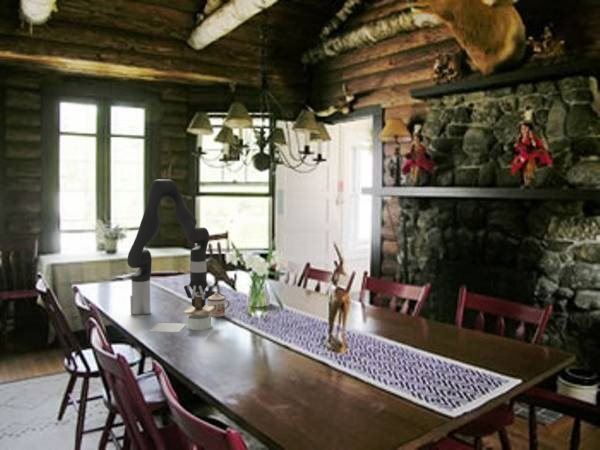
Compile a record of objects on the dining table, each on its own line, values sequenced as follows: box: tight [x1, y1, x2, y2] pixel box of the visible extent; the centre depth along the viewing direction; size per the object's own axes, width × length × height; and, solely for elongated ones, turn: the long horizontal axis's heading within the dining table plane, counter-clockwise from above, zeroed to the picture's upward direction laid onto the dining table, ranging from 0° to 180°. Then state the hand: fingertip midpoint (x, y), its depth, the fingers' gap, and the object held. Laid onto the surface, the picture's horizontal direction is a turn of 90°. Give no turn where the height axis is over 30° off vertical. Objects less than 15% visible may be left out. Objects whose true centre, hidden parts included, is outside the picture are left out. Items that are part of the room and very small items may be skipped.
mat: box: [148, 322, 187, 333], centre depth 242 cm, size 14×14×1 cm
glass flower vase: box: [246, 282, 271, 307], centre depth 290 cm, size 13×13×18 cm
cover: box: [181, 295, 214, 315], centre depth 242 cm, size 12×12×7 cm
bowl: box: [186, 314, 212, 331], centre depth 243 cm, size 11×11×6 cm
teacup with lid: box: [206, 292, 231, 318], centre depth 267 cm, size 12×9×12 cm
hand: (198, 306), depth 242 cm, fingers closed on cover, 3 cm apart
